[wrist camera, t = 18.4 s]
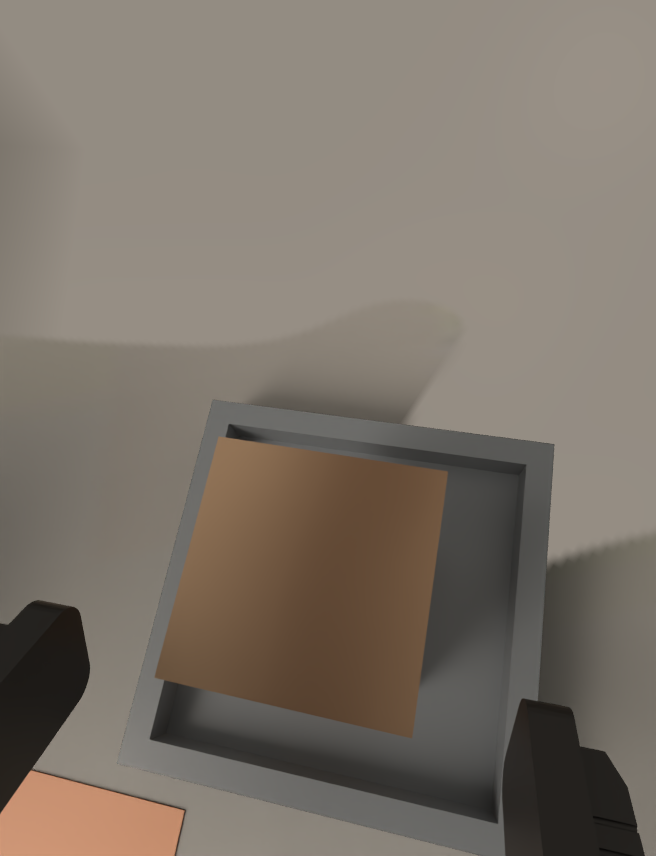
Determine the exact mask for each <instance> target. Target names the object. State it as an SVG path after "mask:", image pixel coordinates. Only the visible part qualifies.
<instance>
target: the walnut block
mask: <svg viewBox="0 0 656 856" xmlns="http://www.w3.org/2000/svg"><path fill="white" fill-rule="evenodd" d="M447 476H448V471H442V470H435V469H429V468H422V467H415V466H409V465H402V464H396V463H389V462H383V461H376V460H370V459H363V458H357V457H350V456H344V455H337V454H330V453H324V452H317V451H311V450H304V449H298V448H291V447H285V446H278V445H272V444H265V443H259V442H252V441H245V440H239V439H232V438H226V437H218V441H217V445H216V448H215V452H214V456H213V460H212V463H211V467H210V471H209V475H208V478H207V482H206V486H205V490H204V493H203V497H202V501H201V505H200V508H199V512H198V516H197V519H196V523H195V527H194V531H193V534H192V538H191V542H190V546H189V549H188V553H187V557H186V561H185V564H184V568H183V572H182V576H181V579H180V583H179V587H178V591H177V594H176V598H175V602H174V606H173V609H172V613H171V617H170V621H169V624H168V628H167V632H166V635H165V639H164V643H163V647H162V650H161V654H160V658H159V662H158V665H157V669H156V673H155V677H154V678H157V679H161V680H165V681H170V682H174V683H178V684H182V685H187V686H191V687H195V688H199V689H204V690H208V691H212V692H216V693H221V694H225V695H229V696H233V697H238V698H242V699H246V700H250V701H255V702H259V703H263V704H267V705H272V706H276V707H280V708H284V709H289V710H293V711H297V712H301V713H306V714H310V715H314V716H318V717H323V718H327V719H331V720H335V721H340V722H344V723H348V724H352V725H357V726H361V727H365V728H369V729H374V730H378V731H382V732H386V733H391V734H395V735H399V736H403V737H408V738H412V736H413V729H414V722H415V714H416V707H417V699H418V692H419V684H420V677H421V670H422V662H423V655H424V647H425V640H426V632H427V625H428V618H429V610H430V603H431V595H432V588H433V580H434V573H435V566H436V558H437V551H438V543H439V536H440V528H441V521H442V513H443V506H444V499H445V491H446V484H447Z"/></svg>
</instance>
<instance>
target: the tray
mask: <svg viewBox="0 0 656 856" xmlns="http://www.w3.org/2000/svg"><path fill="white" fill-rule="evenodd" d="M218 437H226V438H232V439H239V440H245V441H252V442H259V443H265V444H272V445H278V446H285V447H291V448H298V449H304V450H311V451H317V452H324V453H330V454H337V455H344V456H350V457H357V458H363V459H370V460H376V461H383V462H389V463H396V464H402V465H409V466H415V467H422V468H429V469H435V470H442V471H448V476H447V484H446V491H445V499H444V506H443V513H442V521H441V528H440V536H439V543H438V551H437V558H436V566H435V573H434V580H433V588H432V595H431V603H430V610H429V618H428V625H427V632H426V640H425V647H424V655H423V662H422V670H421V677H420V684H419V692H418V699H417V707H416V714H415V722H414V729H413V736H412V738H408V737H403V736H399V735H395V734H391V733H386V732H382V731H378V730H374V729H369V728H365V727H361V726H357V725H352V724H348V723H344V722H340V721H335V720H331V719H327V718H323V717H318V716H314V715H310V714H306V713H301V712H297V711H293V710H289V709H284V708H280V707H276V706H272V705H267V704H263V703H259V702H255V701H250V700H246V699H242V698H238V697H233V696H229V695H225V694H221V693H216V692H212V691H208V690H204V689H199V688H195V687H191V686H187V685H182V684H178V683H174V682H170V681H165V680H161V679H157V678H154V677H155V673H156V669H157V665H158V662H159V658H160V654H161V650H162V647H163V643H164V639H165V635H166V632H167V628H168V624H169V621H170V617H171V613H172V609H173V606H174V602H175V598H176V594H177V591H178V587H179V583H180V579H181V576H182V572H183V568H184V564H185V561H186V557H187V553H188V549H189V546H190V542H191V538H192V534H193V531H194V527H195V523H196V519H197V516H198V512H199V508H200V505H201V501H202V497H203V493H204V490H205V486H206V482H207V478H208V475H209V471H210V467H211V463H212V460H213V456H214V452H215V448H216V445H217V441H218ZM553 458H554V444H549V443H541V442H534V441H526V440H518V439H510V438H503V437H495V436H488V435H480V434H472V433H465V432H457V431H449V430H441V429H434V428H426V427H418V426H411V425H403V424H395V423H388V422H380V421H372V420H365V419H357V418H349V417H342V416H334V415H326V414H319V413H311V412H303V411H296V410H288V409H280V408H273V407H265V406H257V405H250V404H242V403H234V402H226V401H219V400H213V401H212V404H211V408H210V412H209V416H208V420H207V423H206V427H205V431H204V435H203V438H202V442H201V446H200V450H199V454H198V457H197V461H196V465H195V469H194V472H193V476H192V480H191V484H190V488H189V491H188V495H187V499H186V503H185V506H184V510H183V514H182V518H181V522H180V525H179V529H178V533H177V537H176V541H175V544H174V548H173V552H172V556H171V559H170V563H169V567H168V571H167V575H166V578H165V582H164V586H163V590H162V593H161V597H160V601H159V605H158V609H157V612H156V616H155V620H154V624H153V627H152V631H151V635H150V639H149V643H148V646H147V650H146V654H145V658H144V661H143V665H142V669H141V673H140V677H139V680H138V684H137V688H136V692H135V696H134V699H133V703H132V707H131V711H130V714H129V718H128V722H127V726H126V730H125V733H124V737H123V741H122V745H121V748H120V752H119V756H118V760H117V764H120V765H124V766H128V767H132V768H136V769H140V770H144V771H148V772H152V773H156V774H159V775H163V776H167V777H171V778H175V779H179V780H183V781H187V782H191V783H195V784H199V785H203V786H207V787H211V788H215V789H219V790H223V791H227V792H231V793H235V794H239V795H243V796H247V797H251V798H255V799H259V800H263V801H266V802H270V803H274V804H278V805H282V806H286V807H290V808H294V809H298V810H302V811H306V812H310V813H314V814H318V815H322V816H326V817H330V818H334V819H338V820H342V821H346V822H350V823H354V824H358V825H362V826H366V827H370V828H373V829H377V830H381V831H385V832H389V833H393V834H397V835H401V836H405V837H409V838H413V839H417V840H421V841H425V842H429V843H433V844H437V845H441V846H445V847H449V848H453V849H457V850H461V851H465V852H469V853H473V854H477V855H480V856H505V840H504V822H503V804H502V779H503V768H504V761H505V756H506V752H507V748H508V744H509V741H510V737H511V733H512V729H513V726H514V722H515V718H516V715H517V711H518V707H519V704H520V701H521V699H522V698H525V699H530V700H535V701H538V691H539V676H540V660H541V645H542V629H543V614H544V598H545V582H546V567H547V551H548V535H549V520H550V504H551V489H552V473H553Z"/></svg>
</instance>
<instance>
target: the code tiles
mask: <svg viewBox="0 0 656 856" xmlns="http://www.w3.org/2000/svg"><path fill="white" fill-rule="evenodd" d="M184 812H185V810H182V809H178V808H175V807H171V806H167V805H163V804H159V803H155V802H152V801H148V800H144V799H140V798H136V797H133V796H129V795H125V794H121V793H117V792H113V791H110V790H106V789H102V788H98V787H94V786H90V785H87V784H83V783H79V782H75V781H71V780H68V779H64V778H60V777H56V776H52V775H48V774H45V773H41V772H37V771H33V770H31V771H30V772H29V773H28V775H27V776H26V778H25V779H24V781H23V782H22V783H21V785H20V786H19V788H18V789H17V791H16V792H15V793H14V795H13V796H12V798H11V799H10V801H9V802H8V804H7V805H6V806H5V808H4V809H3V811H2V812H1V814H0V856H175V852H176V848H177V843H178V839H179V835H180V830H181V826H182V821H183V817H184Z"/></svg>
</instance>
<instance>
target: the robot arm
mask: <svg viewBox="0 0 656 856" xmlns="http://www.w3.org/2000/svg"><path fill="white" fill-rule="evenodd" d="M89 673H90V663H89V658H88V652H87V647H86V642H85V636H84V631H83V626H82V621H81V616H80V612H79V610H78V609H77V608H75V607H71V606H66V605H61V604H56V603H51V602H46V601H40V600H37V601H33V602H31V603H30V604H28V605H27V606H26V607H25V608H24V609H23V610H22V611H21V612H20V613H19V614H18V615H17V616H16V618H15V619H14V620H13V621H12V622H11V623H10V624H9V625H5V624H0V814H1V812H2V811H3V809H4V808H5V806H6V805H7V804H8V802H9V801H10V799H11V798H12V796H13V795H14V793H15V792H16V791H17V789H18V788H19V786H20V785H21V783H22V782H23V781H24V779H25V778H26V776H27V775H28V773H29V772H30V771H31V769H32V768H33V766H34V765H35V763H36V762H37V761H38V759H39V758H40V756H41V755H42V753H43V752H44V751H45V749H46V748H47V746H48V745H49V743H50V742H51V741H52V739H53V738H54V736H55V735H56V733H57V732H58V731H59V729H60V728H61V726H62V725H63V723H64V722H65V721H66V719H67V718H68V716H69V715H70V713H71V712H72V710H73V709H74V708H75V706H76V705H77V703H78V702H79V700H80V699H81V697H82V695H83V693H84V691H85V688H86V686H87V683H88V679H89ZM502 804H503V822H504V840H505V856H645V855H644V851H643V847H642V843H641V839H640V835H639V833H637V823H636V819H635V815H634V811H633V807H632V803H631V799H630V795H629V791H628V787H627V786H626V784H625V782H624V781H623V779H622V778H621V776H620V775H619V773H618V771H617V770H616V768H615V767H614V765H613V764H612V762H611V760H610V759H609V757H608V756H607V754H606V752H604V751H599V750H594V749H589V748H585V747H580V745H579V740H578V735H577V730H576V724H575V719H574V715H573V712H572V710H571V709H570V708H569V707H565V706H560V705H555V704H550V703H545V702H540V701H535V700H530V699H525V698H522V699H521V701H520V704H519V707H518V711H517V715H516V718H515V722H514V726H513V729H512V733H511V737H510V741H509V744H508V748H507V752H506V756H505V761H504V768H503V779H502Z"/></svg>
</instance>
